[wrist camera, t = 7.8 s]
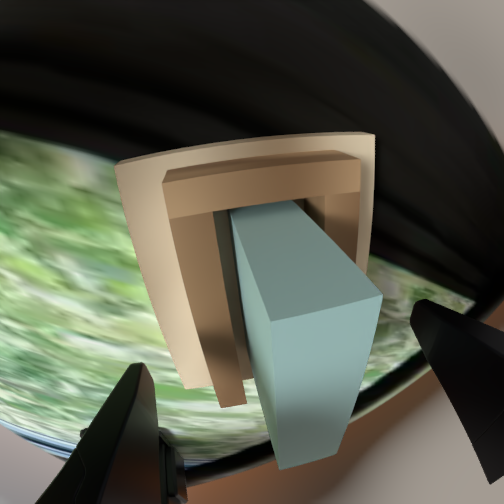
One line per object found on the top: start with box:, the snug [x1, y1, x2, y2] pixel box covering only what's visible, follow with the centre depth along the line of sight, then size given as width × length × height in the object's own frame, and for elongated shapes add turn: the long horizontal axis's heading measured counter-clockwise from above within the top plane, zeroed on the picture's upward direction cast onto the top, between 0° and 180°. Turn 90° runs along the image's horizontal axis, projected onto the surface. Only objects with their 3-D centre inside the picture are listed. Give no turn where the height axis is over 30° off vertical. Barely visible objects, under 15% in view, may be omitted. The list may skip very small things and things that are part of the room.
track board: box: [114, 132, 375, 408], centre depth 11 cm, size 9×11×3 cm
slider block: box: [227, 200, 383, 470], centre depth 9 cm, size 2×7×6 cm, turn 5°
